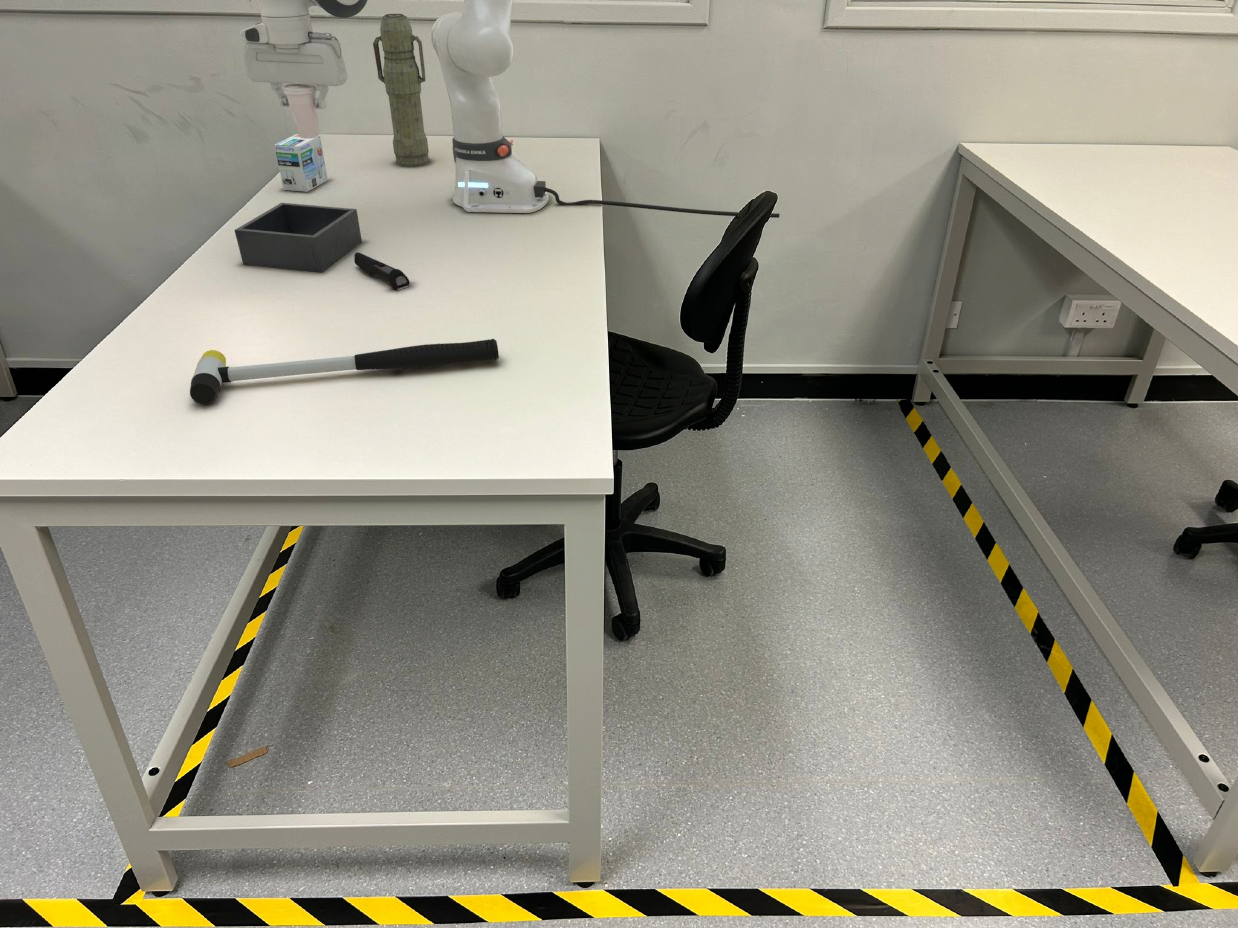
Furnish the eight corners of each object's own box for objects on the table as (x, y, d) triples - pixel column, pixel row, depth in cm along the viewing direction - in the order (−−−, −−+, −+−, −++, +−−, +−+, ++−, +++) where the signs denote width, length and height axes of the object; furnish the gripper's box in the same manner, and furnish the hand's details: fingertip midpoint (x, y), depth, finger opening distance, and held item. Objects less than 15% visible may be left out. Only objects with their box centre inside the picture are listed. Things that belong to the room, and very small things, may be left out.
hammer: (191, 407, 124) (184, 383, 122) (203, 372, 133) (197, 349, 130) (501, 376, 133) (500, 353, 131) (494, 345, 141) (492, 323, 139)
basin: (362, 242, 179) (356, 209, 175) (322, 272, 166) (315, 237, 162) (288, 235, 182) (281, 202, 178) (242, 264, 169) (234, 230, 165)
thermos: (391, 158, 231) (370, 13, 211) (435, 157, 232) (419, 12, 212) (388, 167, 224) (366, 18, 204) (434, 166, 225) (417, 17, 205)
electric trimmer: (368, 264, 170) (365, 248, 168) (412, 285, 161) (409, 269, 159) (351, 269, 168) (348, 253, 166) (394, 291, 159) (392, 275, 157)
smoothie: (296, 132, 178) (281, 59, 170) (328, 132, 179) (314, 59, 171) (289, 140, 173) (274, 65, 165) (322, 140, 174) (307, 65, 166)
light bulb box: (308, 192, 206) (299, 146, 200) (282, 190, 207) (272, 144, 201) (329, 180, 214) (321, 135, 208) (304, 178, 216) (295, 133, 209)
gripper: (345, 31, 166) (358, 106, 174) (250, 27, 169) (266, 101, 177) (330, 36, 161) (343, 113, 168) (232, 32, 164) (249, 108, 172)
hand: (303, 107), depth 173 cm, fingers closed on smoothie, 6 cm apart
